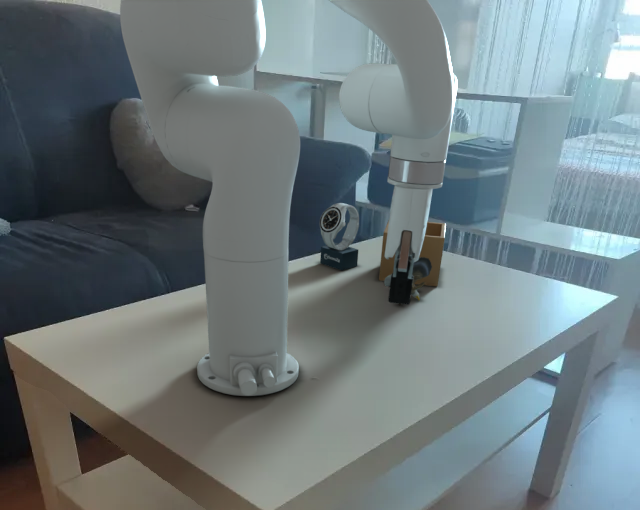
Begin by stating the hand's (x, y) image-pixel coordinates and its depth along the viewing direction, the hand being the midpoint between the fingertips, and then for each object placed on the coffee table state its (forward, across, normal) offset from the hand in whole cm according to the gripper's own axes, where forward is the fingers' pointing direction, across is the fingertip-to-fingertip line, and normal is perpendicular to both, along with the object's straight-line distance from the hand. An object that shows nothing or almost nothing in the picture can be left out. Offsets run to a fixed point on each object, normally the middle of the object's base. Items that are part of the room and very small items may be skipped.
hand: (399, 301), depth 95 cm
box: (+3, -23, +1) cm, 23 cm away
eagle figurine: (+3, -10, +1) cm, 11 cm away
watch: (+3, -25, -13) cm, 28 cm away
